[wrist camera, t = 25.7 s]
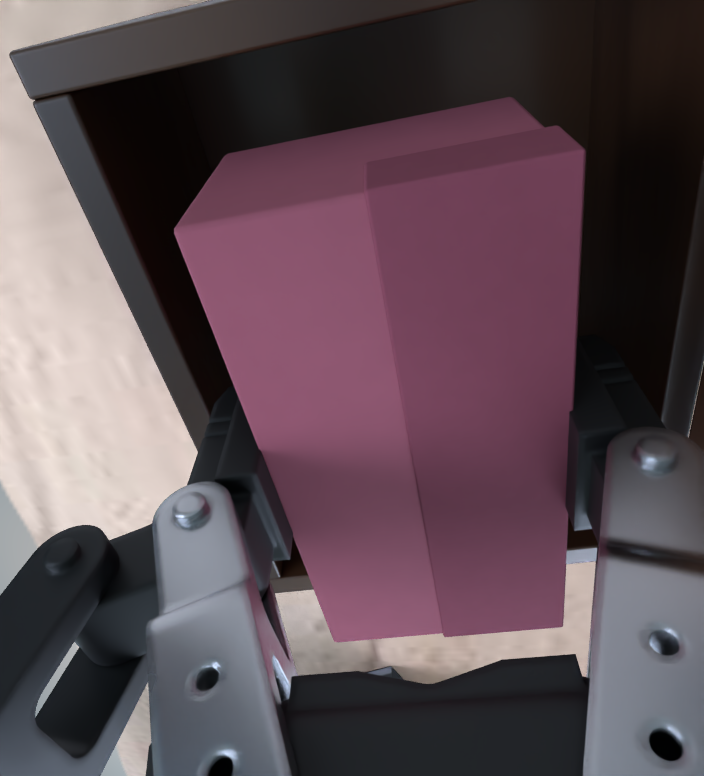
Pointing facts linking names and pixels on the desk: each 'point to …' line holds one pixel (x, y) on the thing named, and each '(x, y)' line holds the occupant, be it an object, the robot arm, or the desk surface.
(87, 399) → the desk surface
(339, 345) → the stepped pink block
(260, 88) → the walnut box
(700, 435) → the box lid
